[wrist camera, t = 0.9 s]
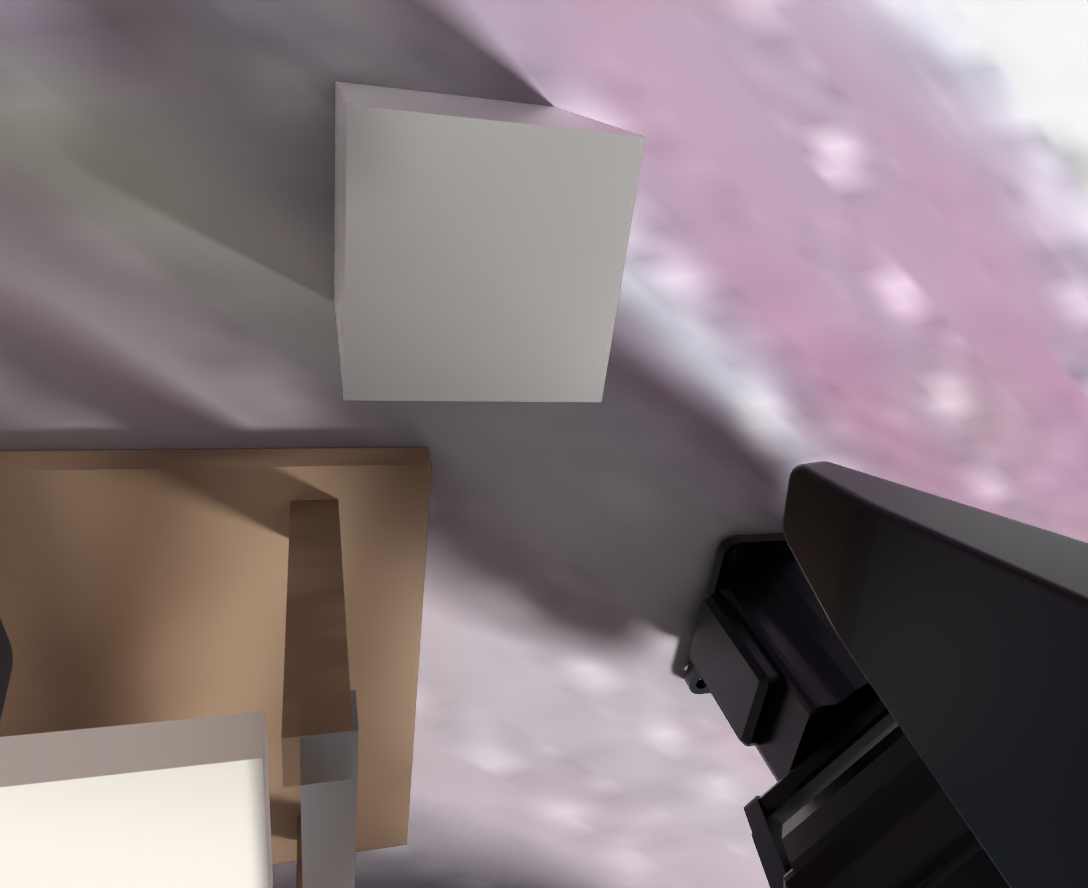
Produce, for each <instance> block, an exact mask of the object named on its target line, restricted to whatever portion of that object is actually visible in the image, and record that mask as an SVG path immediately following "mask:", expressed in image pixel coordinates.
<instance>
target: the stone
mask: <svg viewBox="0 0 1088 888" xmlns="http://www.w3.org/2000/svg"><path fill="white" fill-rule="evenodd" d="M644 143H645V137H644V136H641V135H638V134H635V133H632V132H629V131H626V130H623V129H620V128H617V127H614V126H611V125H608V124H605V123H602V122H599V121H596V120H593V119H590V118H587V117H584V116H581V115H578V114H575V113H572V112H569V111H566V110H563V109H560V108H557V107H553V106H545V105H536V104H527V103H519V102H510V101H502V100H493V99H485V98H476V97H467V96H459V95H450V94H442V93H433V92H424V91H416V90H407V89H399V88H390V87H381V86H373V85H364V84H356V83H347V82H339V81H335V249H334V306H335V316H336V326H337V337H338V347H339V357H340V367H341V378H342V388H343V398H344V400H347V401H486V402H602V397H603V391H604V385H605V379H606V373H607V366H608V360H609V354H610V348H611V342H612V336H613V330H614V324H615V318H616V312H617V306H618V300H619V294H620V288H621V282H622V276H623V270H624V264H625V258H626V252H627V246H628V240H629V233H630V227H631V221H632V215H633V209H634V203H635V197H636V191H637V185H638V179H639V173H640V167H641V161H642V155H643V149H644Z"/></svg>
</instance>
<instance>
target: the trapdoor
mask: <svg viewBox="0 0 1088 888" xmlns="http://www.w3.org/2000/svg"><path fill="white" fill-rule="evenodd" d="M0 888H273V871H272V848H271V825H270V802H269V779H268V756H267V733H266V711H265V712H254V713H244V714H234V715H223V716H213V717H202V718H192V719H182V720H171V721H161V722H150V723H140V724H130V725H119V726H109V727H98V728H88V729H78V730H67V731H57V732H46V733H36V734H26V735H15V736H5V737H0Z"/></svg>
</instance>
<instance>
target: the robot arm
mask: <svg viewBox="0 0 1088 888" xmlns="http://www.w3.org/2000/svg"><path fill="white" fill-rule="evenodd" d="M783 532H784V533H781V534H759V535H736V536H731V537H728V538H727V539H725V540H724V541H723V542H722V543H721V544H720V546H719V548H718V552H717V556H716V559H715V563H714V567H713V571H712V575H711V579H710V583H709V587H708V590H707V594H706V597H705V598H704V600H703V602H702V606H701V610H700V614H699V618H698V622H697V625H696V629H695V633H694V637H693V641H692V645H691V649H690V653H689V657H690V660H689V664H688V668H687V672H686V676H685V681H686V683H687V685H688V687H689V688H690V690H691V692H693V693H695V694H705V693H711V694H712V695H713V697H714V699H715V700H716V702H717V704H718V705H719V707H720V709H721V710H722V712H723V714H724V715H725V717H726V719H727V720H728V722H729V723H730V725H731V727H732V728H733V730H734V732H735V733H736V735H737V737H738V738H739V740H740V741H741V742H742V743H743V744H744V745H745V746H754V745H755V746H756V748H757V749H758V751H759V753H760V754H761V756H762V757H763V759H764V761H765V762H766V764H767V765H768V767H769V769H770V770H771V772H772V774H773V775H774V777H775V778H776V780H777V783H776V784H775V785H774V786H773V787H771V788H770V789H769V790H768V791H767V792H766V793H765V794H763V795H762V796H761V797H760V796H756V797H755V798H754V799H753V800H751V801H750V802H749V803H748V804H747V805H746V806H745V807H744V811H745V813H746V816H747V819H748V822H749V825H750V827H751V830H752V838H753V841H754V843H755V846H756V849H757V852H758V854H759V857H760V860H761V863H762V866H763V868H764V871H765V874H766V877H767V880H768V882H769V885H770V888H1088V543H1086V542H1083V541H1079V540H1076V539H1073V538H1070V537H1067V536H1063V535H1060V534H1057V533H1054V532H1051V531H1047V530H1044V529H1041V528H1038V527H1035V526H1032V525H1028V524H1025V523H1022V522H1019V521H1016V520H1012V519H1009V518H1006V517H1003V516H1000V515H996V514H993V513H990V512H987V511H984V510H980V509H977V508H974V507H971V506H968V505H965V504H961V503H958V502H955V501H952V500H949V499H945V498H942V497H939V496H936V495H933V494H929V493H926V492H923V491H920V490H917V489H913V488H910V487H907V486H904V485H901V484H897V483H894V482H891V481H888V480H885V479H882V478H878V477H875V476H872V475H869V474H866V473H862V472H859V471H856V470H853V469H850V468H846V467H843V466H840V465H837V464H834V463H830V462H815V463H808V464H802V465H798V466H796V467H795V468H794V469H793V470H792V472H791V474H790V478H789V483H788V490H787V497H786V503H785V510H784V516H783ZM736 549H738V550H737V552H735V553H734V554H731V553H732V552H733V551H734V550H736ZM12 667H13V651H12V646H11V643H10V640H9V637H8V635H7V633H6V630H5V628H4V625H3V623H2V621H1V618H0V722H1V718H2V713H3V709H4V704H5V700H6V695H7V691H8V686H9V682H10V677H11V673H12ZM700 679H701V680H700Z"/></svg>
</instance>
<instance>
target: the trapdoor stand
mask: <svg viewBox="0 0 1088 888" xmlns="http://www.w3.org/2000/svg"><path fill="white" fill-rule="evenodd" d="M431 470H432V463H431V460H430V456H429V452H428V449H427V447H411V448H299V449H187V450H75V451H0V618H1V621H2V623H3V625H4V628H5V630H6V633H7V635H8V637H9V640H10V643H11V646H12V651H13V667H12V673H11V677H10V682H9V686H8V691H7V695H6V700H5V704H4V709H3V713H2V718H1V722H0V737H5V736H15V735H26V734H36V733H46V732H57V731H67V730H78V729H88V728H98V727H109V726H119V725H130V724H140V723H150V722H161V721H171V720H182V719H192V718H202V717H213V716H223V715H234V714H244V713H254V712H265V711H266V733H267V756H268V779H269V802H270V825H271V848H272V864H279V863H285V862H292V861H297V875H296V888H355V857H356V852H360V851H367V850H374V849H380V848H387V847H394V846H401V845H407V832H408V817H409V802H410V787H411V772H412V757H413V742H414V727H415V712H416V697H417V682H418V667H419V651H420V636H421V621H422V606H423V591H424V576H425V561H426V546H427V531H428V516H429V501H430V486H431Z"/></svg>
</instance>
